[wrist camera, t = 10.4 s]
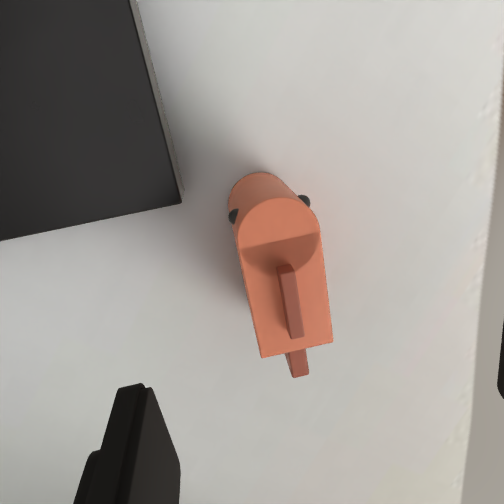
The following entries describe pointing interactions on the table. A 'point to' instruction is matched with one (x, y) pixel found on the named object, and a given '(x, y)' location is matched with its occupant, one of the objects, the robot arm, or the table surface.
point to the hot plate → (79, 117)
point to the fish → (281, 268)
